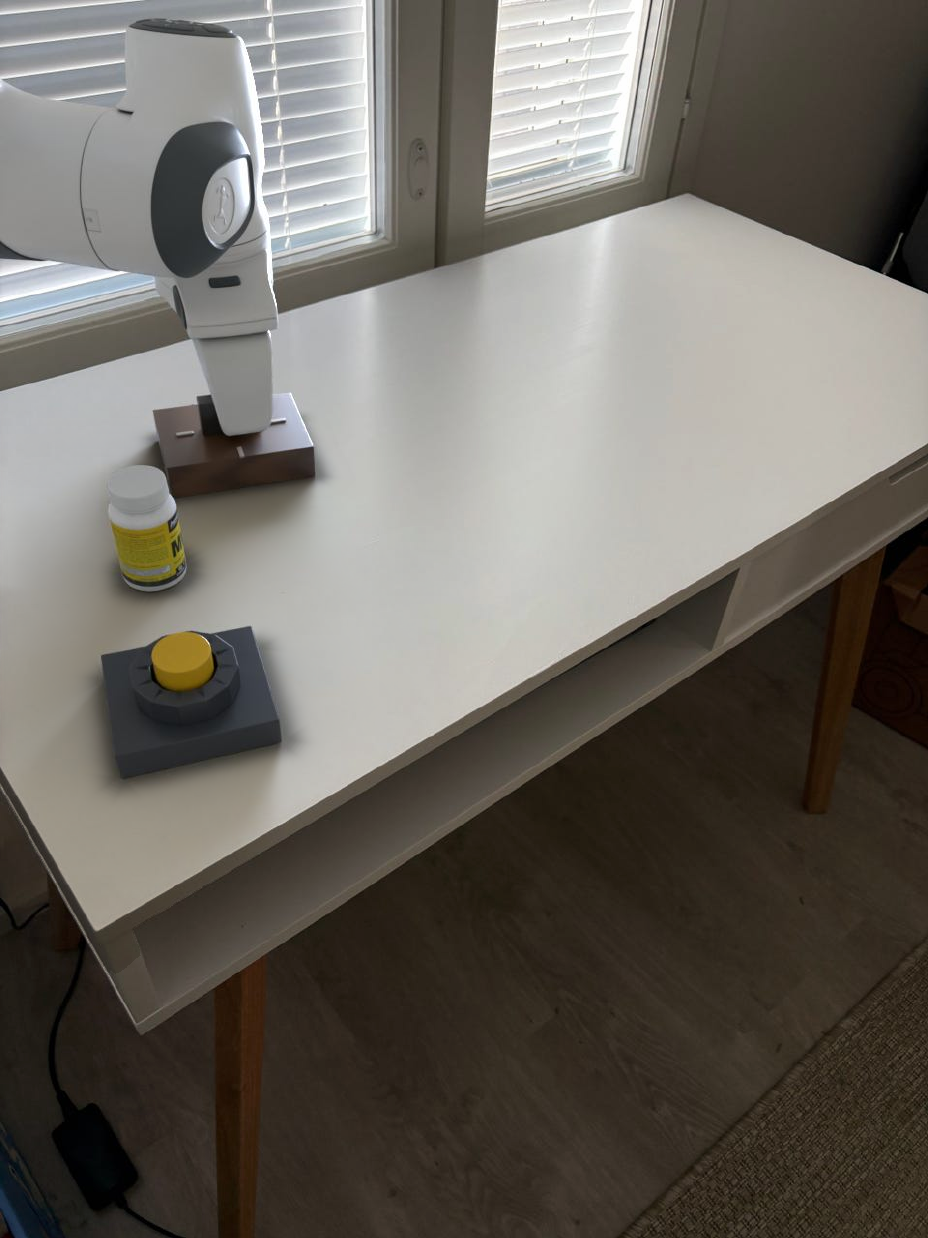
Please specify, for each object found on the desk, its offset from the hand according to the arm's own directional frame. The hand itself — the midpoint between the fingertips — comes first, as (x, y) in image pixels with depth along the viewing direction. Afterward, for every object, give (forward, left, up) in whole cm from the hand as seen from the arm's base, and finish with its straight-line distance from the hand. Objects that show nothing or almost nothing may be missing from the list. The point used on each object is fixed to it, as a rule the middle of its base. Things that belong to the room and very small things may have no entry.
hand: (231, 421), depth 85 cm
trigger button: (-8, -28, 0) cm, 29 cm away
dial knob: (0, 0, -1) cm, 1 cm away
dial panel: (0, 0, -4) cm, 4 cm away
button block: (-8, -28, -4) cm, 29 cm away
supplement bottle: (-8, -13, -4) cm, 16 cm away
